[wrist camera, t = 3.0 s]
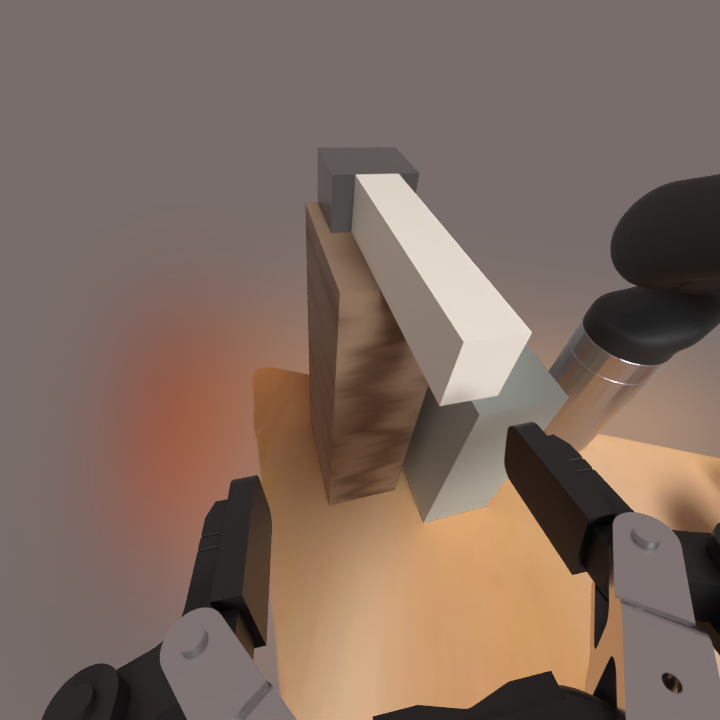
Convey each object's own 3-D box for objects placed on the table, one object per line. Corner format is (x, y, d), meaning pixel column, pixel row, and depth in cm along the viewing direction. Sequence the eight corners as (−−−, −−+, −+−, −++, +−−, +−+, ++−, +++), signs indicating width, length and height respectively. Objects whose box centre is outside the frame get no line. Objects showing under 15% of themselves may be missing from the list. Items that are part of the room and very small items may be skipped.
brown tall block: (367, 410, 54) (399, 199, 32) (394, 489, 46) (461, 280, 24) (310, 420, 52) (305, 202, 30) (329, 504, 44) (339, 292, 22)
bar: (388, 199, 32) (395, 147, 29) (525, 390, 18) (563, 327, 15) (317, 202, 31) (317, 147, 28) (408, 411, 17) (426, 347, 14)
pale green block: (444, 424, 53) (494, 304, 38) (485, 506, 45) (569, 397, 30) (390, 434, 51) (420, 313, 36) (423, 522, 44) (479, 414, 28)
